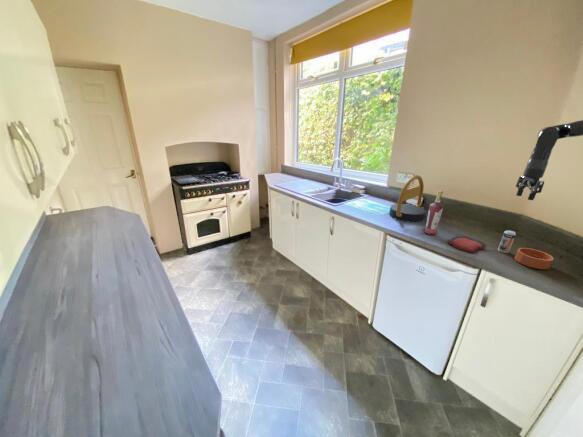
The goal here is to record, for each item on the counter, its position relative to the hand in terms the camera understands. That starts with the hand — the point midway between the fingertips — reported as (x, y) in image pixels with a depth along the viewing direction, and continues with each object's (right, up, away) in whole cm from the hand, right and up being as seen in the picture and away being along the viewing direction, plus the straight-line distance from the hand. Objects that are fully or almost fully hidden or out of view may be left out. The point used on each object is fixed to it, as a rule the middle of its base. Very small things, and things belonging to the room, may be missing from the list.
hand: (524, 197), depth 128 cm
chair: (-39, -10, +51) cm, 65 cm away
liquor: (-38, -21, +22) cm, 49 cm away
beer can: (-11, -30, +1) cm, 32 cm away
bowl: (-7, -34, -10) cm, 36 cm away
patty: (-27, -27, +7) cm, 39 cm away
